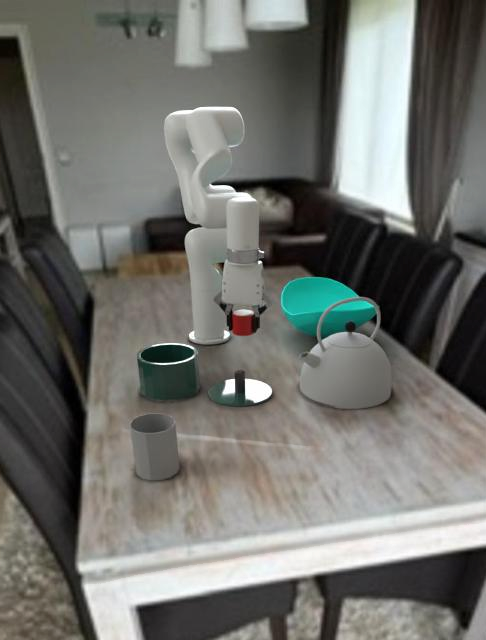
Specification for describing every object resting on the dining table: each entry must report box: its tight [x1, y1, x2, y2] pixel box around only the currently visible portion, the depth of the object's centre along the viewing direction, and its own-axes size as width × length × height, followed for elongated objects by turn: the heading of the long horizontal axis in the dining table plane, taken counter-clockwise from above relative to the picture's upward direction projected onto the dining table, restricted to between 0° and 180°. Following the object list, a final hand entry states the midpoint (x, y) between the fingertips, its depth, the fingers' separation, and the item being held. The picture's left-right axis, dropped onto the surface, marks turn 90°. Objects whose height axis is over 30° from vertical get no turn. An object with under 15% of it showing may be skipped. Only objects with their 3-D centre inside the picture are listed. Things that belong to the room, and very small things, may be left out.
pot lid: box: [207, 369, 273, 408], centre depth 137 cm, size 16×16×6 cm
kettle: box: [299, 296, 393, 410], centre depth 135 cm, size 25×23×22 cm
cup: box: [129, 412, 180, 481], centre depth 107 cm, size 8×8×10 cm
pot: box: [136, 342, 201, 401], centre depth 140 cm, size 15×15×10 cm
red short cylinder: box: [231, 309, 255, 337], centre depth 144 cm, size 6×6×5 cm
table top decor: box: [280, 276, 380, 340], centre depth 173 cm, size 40×28×13 cm
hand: (243, 329), depth 145 cm, fingers closed on red short cylinder, 5 cm apart
